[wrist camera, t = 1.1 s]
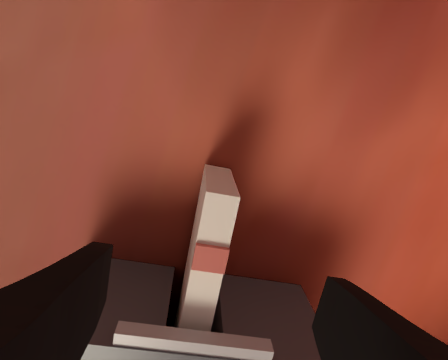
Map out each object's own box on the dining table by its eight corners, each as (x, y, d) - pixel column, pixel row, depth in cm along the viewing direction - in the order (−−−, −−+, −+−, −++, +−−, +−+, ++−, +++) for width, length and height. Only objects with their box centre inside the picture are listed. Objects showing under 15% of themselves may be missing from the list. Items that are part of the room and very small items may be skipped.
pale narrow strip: (230, 168, 19) (241, 199, 14) (194, 339, 22) (192, 418, 17) (205, 164, 19) (206, 193, 14) (172, 336, 22) (162, 415, 17)
